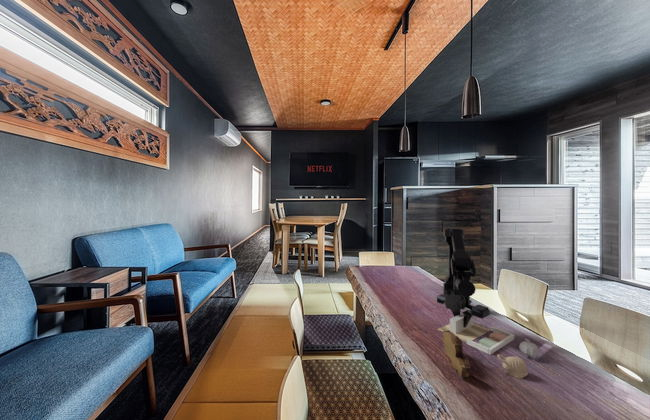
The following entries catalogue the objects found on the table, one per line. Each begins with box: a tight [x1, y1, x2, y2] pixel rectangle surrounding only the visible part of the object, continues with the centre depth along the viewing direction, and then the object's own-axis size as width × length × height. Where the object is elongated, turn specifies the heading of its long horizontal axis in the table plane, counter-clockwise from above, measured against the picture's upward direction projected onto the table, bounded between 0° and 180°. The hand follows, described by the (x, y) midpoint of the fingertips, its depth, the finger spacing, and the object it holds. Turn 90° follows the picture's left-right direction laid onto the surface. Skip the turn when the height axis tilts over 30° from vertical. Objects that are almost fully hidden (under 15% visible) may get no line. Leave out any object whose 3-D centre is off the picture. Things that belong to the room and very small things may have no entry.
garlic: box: [518, 338, 540, 360], centre depth 86 cm, size 6×5×5 cm
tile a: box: [488, 331, 508, 342], centre depth 94 cm, size 4×4×2 cm
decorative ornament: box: [497, 353, 529, 379], centre depth 77 cm, size 4×8×5 cm, turn 73°
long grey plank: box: [449, 312, 474, 334], centre depth 102 cm, size 12×2×5 cm, turn 122°
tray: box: [466, 325, 516, 356], centre depth 92 cm, size 18×8×3 cm, turn 122°
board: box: [437, 322, 491, 344], centre depth 101 cm, size 17×12×2 cm
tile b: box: [478, 336, 498, 348], centre depth 90 cm, size 4×4×2 cm
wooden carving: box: [441, 330, 472, 378], centre depth 81 cm, size 16×5×10 cm, turn 179°
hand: (461, 325), depth 102 cm, fingers closed on long grey plank, 2 cm apart
